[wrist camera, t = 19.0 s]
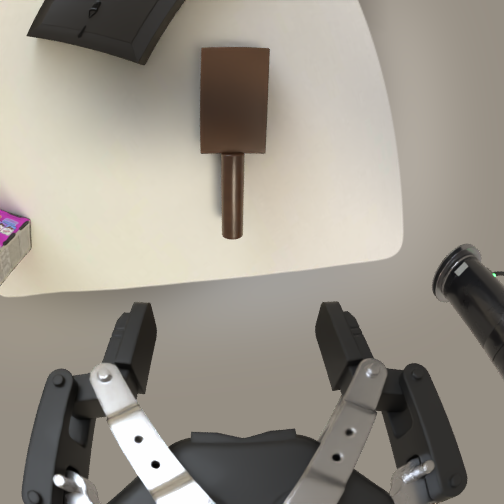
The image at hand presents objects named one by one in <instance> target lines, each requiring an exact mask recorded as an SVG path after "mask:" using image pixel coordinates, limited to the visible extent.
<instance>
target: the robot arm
mask: <svg viewBox="0 0 504 504" xmlns="http://www.w3.org/2000/svg"><path fill="white" fill-rule="evenodd" d="M498 275H503V276H504V272H493V273H492V272H491V271H490V270H489V269H488V268H486V267H485V266H484V265H483V264H482V263H481V262H480V261H479V260H478V259H477V257H475V256H474V255H473V254H466V255H464V256H462V257H460V258H459V259H458V260H456V261H455V262H454V263H453V264H452V266H451V267H450V268H449V270H448V271H447V273H446V274H445V276H444V279H443V281H442V285H441V292H442V294H443V295H444V297H445V298H447V299H448V301H449V302H450V303H451V305H452V306H453V307H454V308H455V310H456V311H457V313H458V314H459V315H460V316H461V318H462V319H463V321H464V322H465V323H466V325H467V326H468V327H469V329H470V330H471V332H472V333H473V334H474V336H475V337H476V339H477V340H478V342H479V343H480V345H481V346H482V348H483V349H484V350H485V352H486V353H487V355H488V356H489V358H490V360H491V361H492V362H493V364H494V366H495V367H496V369H497V370H498V372H499V374H500V375H501V377H502V378H503V380H504V286H503V284H502V283H501V282H500V281H499V280H498V279H497V278H496V276H498ZM315 333H316V338H317V341H318V344H319V348H320V351H321V354H322V357H323V361H324V364H325V367H326V370H327V374H328V377H329V380H330V384H331V387H332V391H335V390H341V393H342V395H341V397H340V399H339V401H338V403H337V405H336V407H335V409H334V411H333V413H332V415H331V417H330V419H329V421H328V422H327V424H326V426H325V428H324V429H323V431H322V433H321V434H320V436H319V438H318V439H317V441H316V440H314V439H312V438H310V437H306V436H303V435H297V434H296V431H295V429H287V430H276V431H269V432H265V433H262V434H258V435H255V436H251V437H247V438H239V437H234V436H230V435H225V434H221V433H208V432H207V433H206V432H191V438H187V439H184V440H180V441H178V442H176V443H174V444H172V445H171V446H169V447H167V445H166V444H165V443H164V441H163V440H162V438H161V437H160V436H159V434H158V433H157V431H156V430H155V428H154V427H153V425H152V424H151V422H150V421H149V419H148V418H147V416H146V415H145V413H144V412H143V410H142V409H141V407H140V405H139V404H138V402H137V401H136V399H137V394H138V393H139V394H145V391H146V385H147V380H148V375H149V370H150V365H151V360H152V355H153V351H154V346H155V341H156V336H157V335H156V334H157V328H156V324H155V319H154V315H153V311H152V307H151V304H150V303H143V302H134V304H133V306H132V309H131V312H130V313H123V314H122V316H121V317H120V318H119V319H118V320H117V322H116V325H115V328H114V331H113V333H112V337H111V338H110V342H109V344H108V347H107V350H106V353H105V356H104V359H103V361H102V363H101V364H99V365H97V366H96V367H94V368H93V369H92V371H91V373H88V374H82V375H75V376H72V374H71V373H70V372H69V371H68V370H66V369H57V370H55V371H53V372H52V373H51V374H50V375H49V377H48V378H47V381H46V384H45V387H44V390H43V394H42V397H41V400H40V404H39V407H38V410H37V414H36V418H35V422H34V426H33V430H32V434H31V438H30V443H29V447H28V453H27V458H26V464H25V470H24V477H23V484H22V499H23V502H24V504H101V503H100V501H99V499H98V492H97V489H96V487H95V485H94V484H93V483H92V482H91V481H89V480H88V475H89V465H90V456H91V448H92V441H93V434H94V427H95V421H96V418H98V417H107V423H108V425H109V427H110V429H111V431H112V433H113V435H114V436H115V438H116V440H117V442H118V444H119V445H120V447H121V449H122V451H123V452H124V454H125V456H126V457H127V459H128V460H129V462H130V463H131V465H132V467H133V468H134V470H135V471H136V473H137V474H138V476H137V477H136V478H135V479H134V480H133V481H132V482H131V483H130V484H129V485H128V486H126V487H125V488H124V489H123V490H122V491H121V492H120V493H119V494H117V496H115V497H114V498H113V499H112V500H111V501H110V502H108V503H107V504H438V503H441V502H443V501H445V500H448V499H450V498H453V497H455V496H457V495H459V494H460V493H461V492H462V491H463V490H464V489H465V487H466V484H467V474H466V470H465V467H464V464H463V460H462V457H461V454H460V451H459V448H458V445H457V442H456V439H455V437H454V434H453V431H452V428H451V426H450V423H449V420H448V418H447V415H446V413H445V410H444V408H443V405H442V403H441V400H440V398H439V396H438V393H437V391H436V389H435V386H434V384H433V382H432V380H431V377H430V375H429V373H428V371H427V370H426V369H425V368H424V367H423V366H422V365H419V364H416V363H412V364H409V365H407V366H406V367H405V369H404V370H396V369H388V368H386V367H385V365H384V364H383V363H382V362H380V361H379V360H376V359H374V358H373V356H372V353H371V352H370V349H369V347H368V344H367V342H366V340H365V338H364V336H363V335H362V331H361V329H360V328H359V325H358V323H357V321H356V319H355V318H354V317H353V316H352V315H351V314H350V313H349V312H348V311H345V312H343V310H342V308H341V306H340V304H339V302H323V303H322V304H321V307H320V311H319V315H318V318H317V322H316V326H315ZM376 411H382V414H383V418H384V422H385V425H386V429H387V432H388V436H389V440H390V443H391V447H392V451H393V455H394V459H395V463H396V467H397V470H396V471H395V472H394V473H393V475H392V478H391V489H390V492H389V493H388V492H386V491H385V490H384V489H382V488H380V487H379V486H377V485H376V484H375V483H373V482H372V481H370V480H369V479H367V478H366V477H365V476H363V475H362V474H360V473H359V472H357V471H356V470H355V469H354V467H355V465H356V462H357V461H358V458H359V456H360V454H361V452H362V450H363V447H364V445H365V443H366V440H367V438H368V435H369V433H370V431H371V428H372V426H373V423H374V421H375V418H376V415H377V412H376Z"/></svg>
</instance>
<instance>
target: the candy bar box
mask: <svg viewBox="0 0 504 504" xmlns="http://www.w3.org/2000/svg"><path fill="white" fill-rule="evenodd" d="M30 250H31V235H30V220H29V219H27V218H24V217H21V216H18V215H15V214H12V213H9V212H5V211H2V210H0V286H1V285H2V283H3V282H4V281H5V280H6V278H7V277H8V275H9V274H10V273H11V272H12V271H13V269H14V268H15V267H16V266H17V265H18V263H19V262H20V261H21V260H22V259H23V258H24V256H25V255H26V254H27V253H28V252H29V251H30Z"/></svg>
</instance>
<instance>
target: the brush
mask: <svg viewBox="0 0 504 504" xmlns="http://www.w3.org/2000/svg"><path fill="white" fill-rule="evenodd" d="M269 54H270V49H269V48H252V47H207V48H202V49H201V84H200V147H201V154H208V153H222V154H221V190H222V235H223V237H224V238H227V239H238V238H240V237H242V235H243V198H244V156H245V154H244V153H261V154H264V153H265V149H266V127H267V104H268V80H269Z"/></svg>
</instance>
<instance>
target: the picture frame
mask: <svg viewBox="0 0 504 504" xmlns="http://www.w3.org/2000/svg"><path fill="white" fill-rule="evenodd" d="M184 1H185V0H45V1H44V3H43V4H42V6H41V8H40V10H39V12H38V14H37V15H36V17H35V19H34V21H33V23H32V25H31V27H30V29H29V32H28V34H27V36H29V37H36V38H42V39H48V40H54V41H59V42H64V43H68V44H73V45H77V46H81V47H85V48H89V49H93V50H97V51H100V52H104V53H107V54H111V55H114V56H117V57H120V58H124V59H127V60H130V61H133V62H136V63H139V64H142V65H145V64H146V62H147V60H148V58H149V56H150V54H151V53H152V51H153V49H154V47H155V46H156V44H157V42H158V41H159V39H160V37H161V36H162V34H163V32H164V31H165V29H166V28H167V26H168V25H169V23H170V22H171V20H172V19H173V17H174V16H175V14H176V13H177V11H178V10H179V8H180V7H181V5H182V4H183V3H184Z"/></svg>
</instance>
